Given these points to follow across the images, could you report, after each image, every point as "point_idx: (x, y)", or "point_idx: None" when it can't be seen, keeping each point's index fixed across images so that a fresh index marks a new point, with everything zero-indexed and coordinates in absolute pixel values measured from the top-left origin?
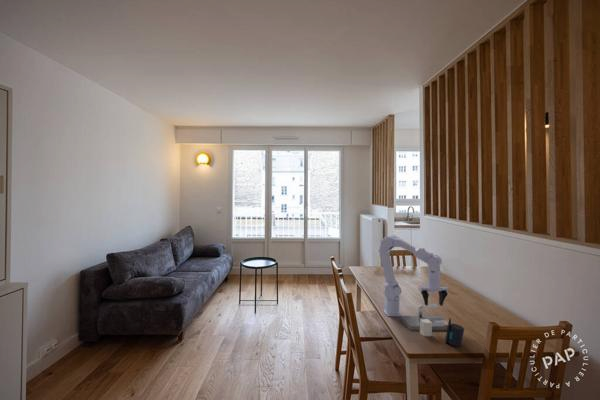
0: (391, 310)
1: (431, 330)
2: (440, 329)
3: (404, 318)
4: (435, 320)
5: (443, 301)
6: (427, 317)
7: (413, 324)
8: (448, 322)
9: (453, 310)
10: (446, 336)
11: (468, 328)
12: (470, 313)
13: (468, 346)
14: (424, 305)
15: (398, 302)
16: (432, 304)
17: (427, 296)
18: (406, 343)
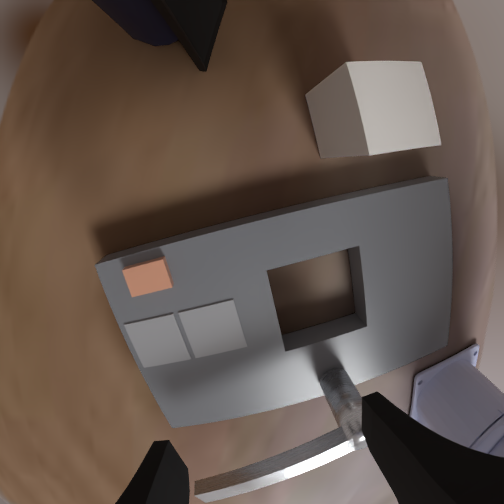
0: (477, 373)
1: (322, 82)
2: (207, 227)
3: (444, 309)
4: (227, 345)
5: (129, 485)
6: (279, 385)
7: (423, 213)
8: (126, 333)
9: (110, 492)
10: (202, 48)
11: (23, 311)
12: (44, 467)
13: (86, 17)
14: (322, 458)
15: (471, 425)
16: (238, 490)
17: (458, 478)
18: (447, 11)
